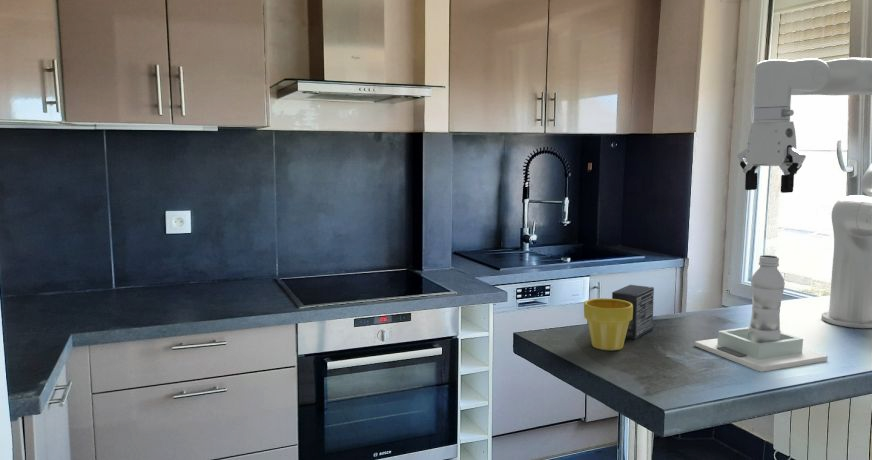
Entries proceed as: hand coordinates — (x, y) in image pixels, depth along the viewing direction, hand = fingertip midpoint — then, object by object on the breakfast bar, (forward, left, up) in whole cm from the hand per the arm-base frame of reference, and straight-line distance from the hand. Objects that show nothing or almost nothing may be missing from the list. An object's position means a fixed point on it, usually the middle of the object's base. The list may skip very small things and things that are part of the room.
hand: (768, 191), depth 152 cm
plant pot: (+40, -4, -34) cm, 53 cm away
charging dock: (+13, +12, -33) cm, 38 cm away
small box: (+28, -11, -34) cm, 45 cm away
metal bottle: (+13, +13, -33) cm, 38 cm away
